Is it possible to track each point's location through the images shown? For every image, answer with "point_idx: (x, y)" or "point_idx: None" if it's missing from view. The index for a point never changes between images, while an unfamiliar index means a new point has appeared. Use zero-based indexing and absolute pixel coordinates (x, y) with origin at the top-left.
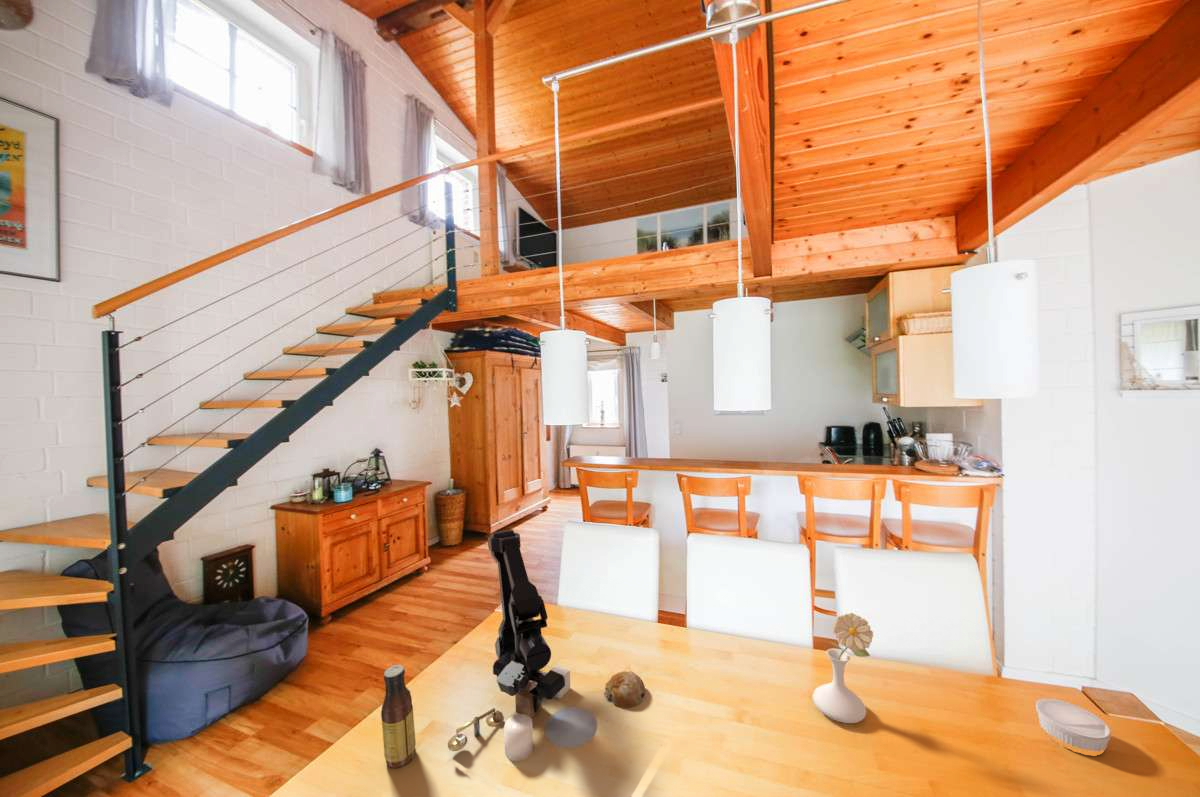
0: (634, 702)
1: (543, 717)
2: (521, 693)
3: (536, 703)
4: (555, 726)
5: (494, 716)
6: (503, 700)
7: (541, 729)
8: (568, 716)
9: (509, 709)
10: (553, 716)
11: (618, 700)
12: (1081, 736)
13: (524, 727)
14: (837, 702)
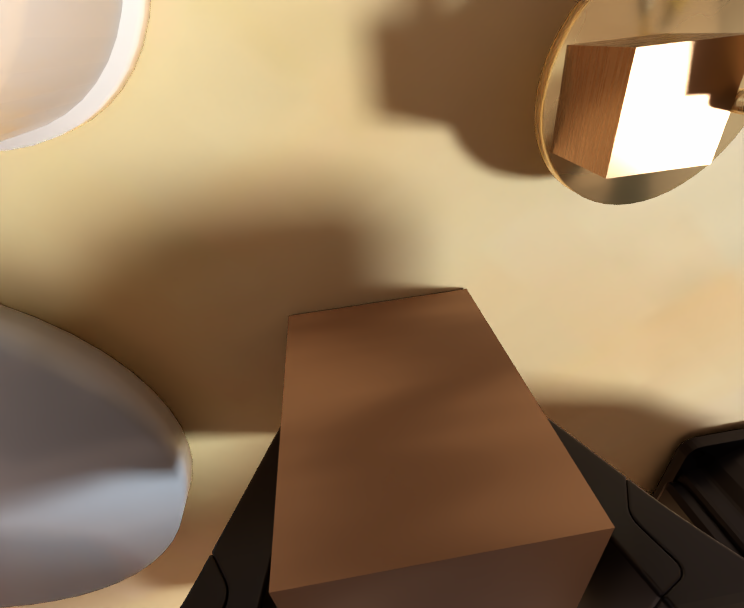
0: None
1: (263, 412)
2: (497, 566)
3: (218, 546)
4: (8, 435)
5: (695, 38)
6: (681, 325)
7: (151, 340)
8: (65, 528)
9: (576, 301)
10: (149, 472)
11: None
12: None
13: None
14: None
